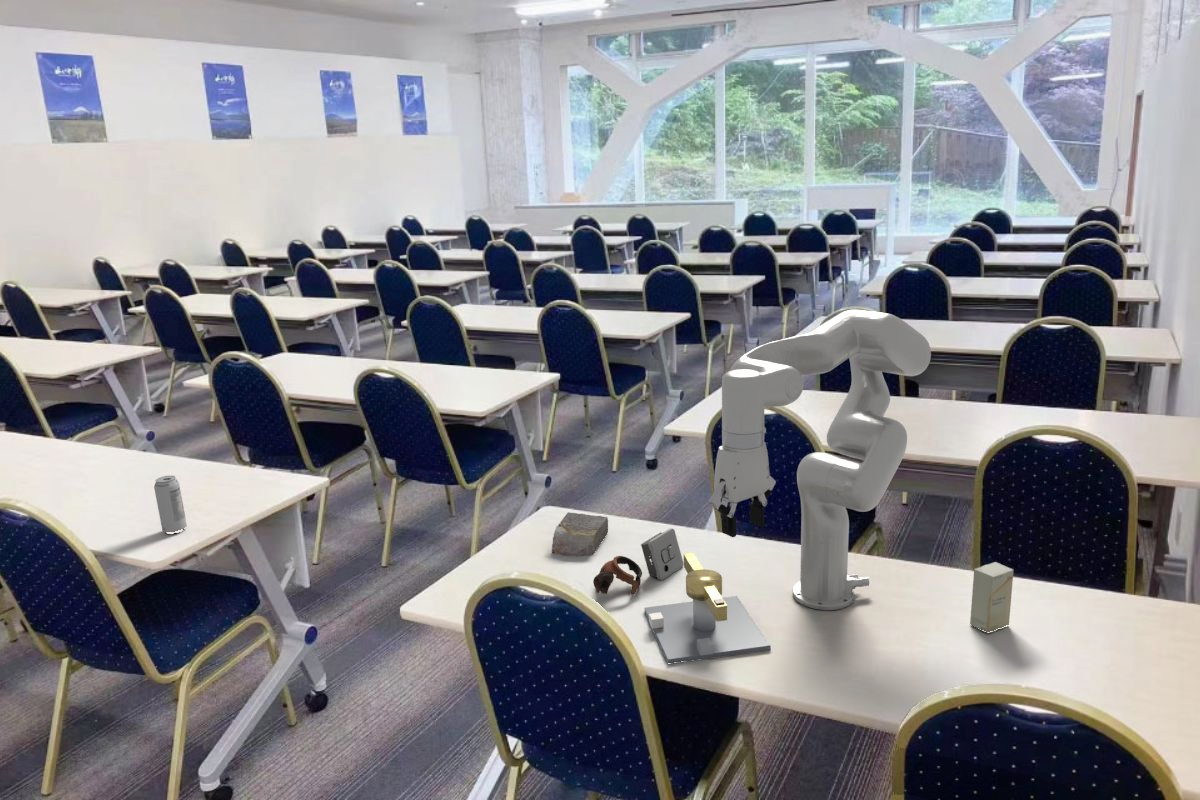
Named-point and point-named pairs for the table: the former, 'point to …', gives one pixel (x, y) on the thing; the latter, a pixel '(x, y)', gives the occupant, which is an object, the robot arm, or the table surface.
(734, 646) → the lock base
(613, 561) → the brown headphones
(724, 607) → the handle
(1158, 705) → the table surface
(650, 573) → the electrical switch
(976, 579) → the skincare box
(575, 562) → the table surface
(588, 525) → the geological specimen
